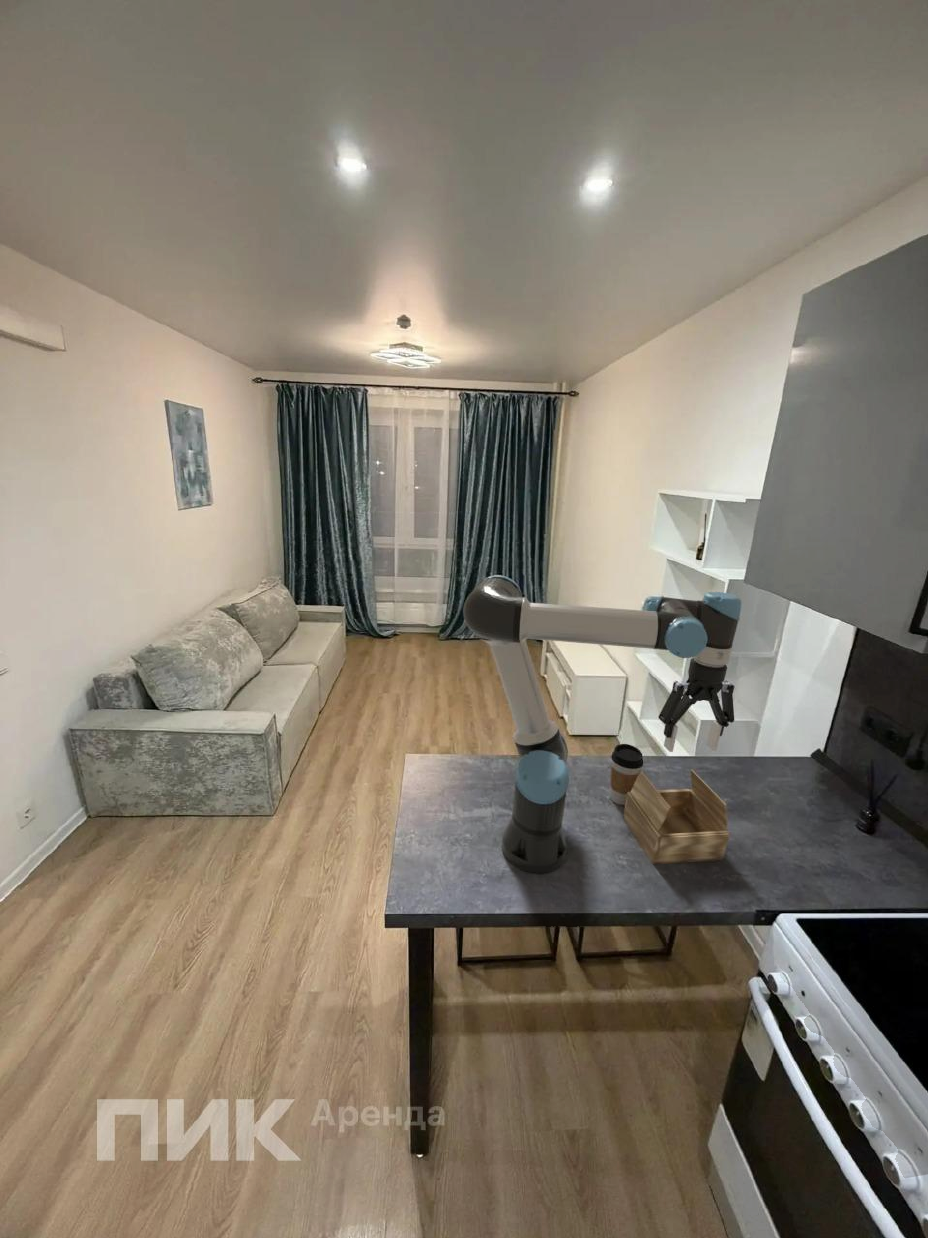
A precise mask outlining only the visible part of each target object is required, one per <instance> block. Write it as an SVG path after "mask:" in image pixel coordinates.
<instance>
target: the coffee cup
mask: <svg viewBox="0 0 928 1238" xmlns="http://www.w3.org/2000/svg"><path fill="white" fill-rule="evenodd" d="M610 758H611V759H612V760H611V761H612V762H611V765H610V767H611V768H610V783H609V798H610V800H611V801H612V802H613V803H615V804H617V805H621V806H625V803H626V798H627V792H630V791H631V790H632V788H633V786H634V783H635V781H636V779H637V777H638V775H639V773H640V771H641V768H642V767H643V766H644V759H643V753H642V752H641V750H640V749H639V748H637V747H636V746H635V745H632V744H629V743H619V744H617V745H616V746H615V747H614V750H613V752H612V753H611V756H610Z"/></svg>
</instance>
